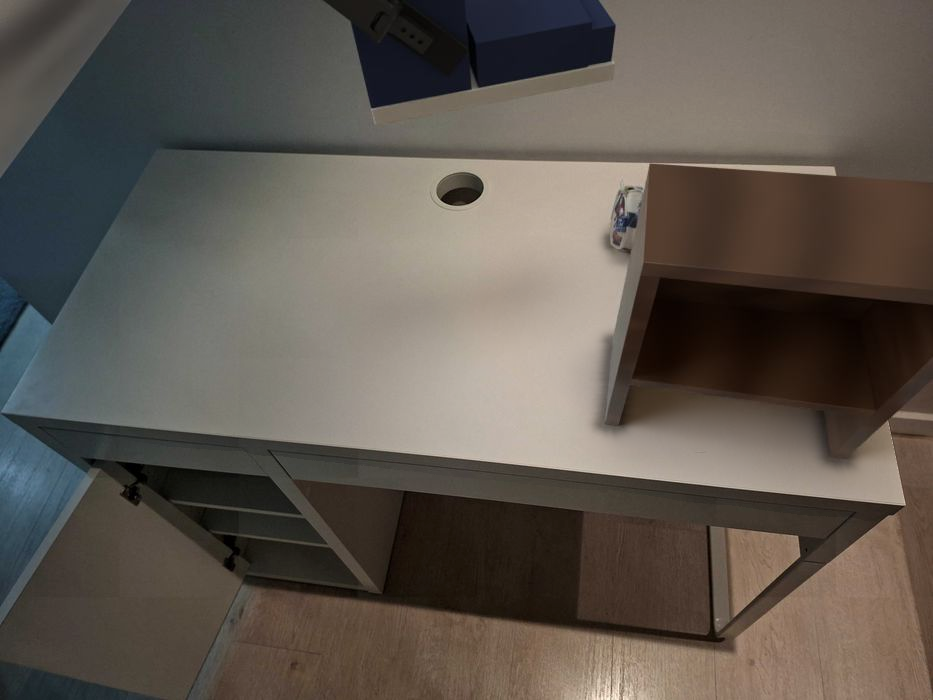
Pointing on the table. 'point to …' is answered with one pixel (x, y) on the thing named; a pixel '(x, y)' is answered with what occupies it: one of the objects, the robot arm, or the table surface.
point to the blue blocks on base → (490, 56)
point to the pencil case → (625, 216)
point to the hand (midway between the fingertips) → (448, 36)
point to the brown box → (780, 294)
